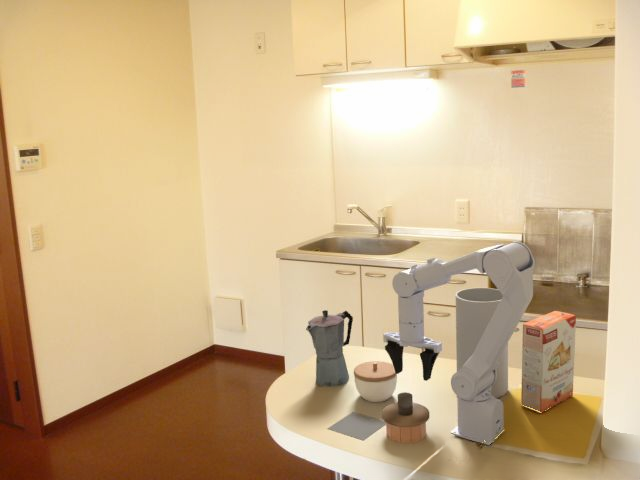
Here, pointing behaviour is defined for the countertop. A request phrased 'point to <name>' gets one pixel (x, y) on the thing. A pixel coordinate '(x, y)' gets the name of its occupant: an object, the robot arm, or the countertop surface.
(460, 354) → the cylinder vase
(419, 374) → the countertop surface
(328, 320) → the moka pot
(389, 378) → the lidded jar
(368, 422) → the mat
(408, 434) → the planter
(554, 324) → the cracker box
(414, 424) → the lid
